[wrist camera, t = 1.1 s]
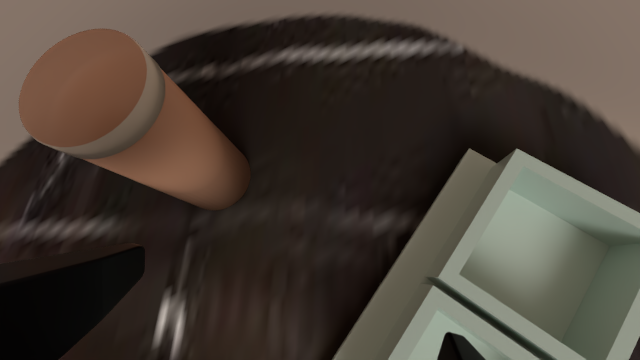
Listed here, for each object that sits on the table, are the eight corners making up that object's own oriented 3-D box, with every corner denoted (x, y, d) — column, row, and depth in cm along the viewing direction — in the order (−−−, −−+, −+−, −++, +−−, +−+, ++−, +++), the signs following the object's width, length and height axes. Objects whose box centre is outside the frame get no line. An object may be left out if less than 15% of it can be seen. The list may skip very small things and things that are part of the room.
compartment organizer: (501, 567, 16) (552, 671, 12) (309, 394, 20) (296, 428, 16) (649, 256, 20) (730, 252, 16) (464, 153, 23) (489, 126, 19)
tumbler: (207, 225, 24) (47, 175, 11) (172, 173, 25) (-1, 81, 13) (264, 180, 24) (171, 86, 12) (226, 132, 26) (109, 6, 14)
